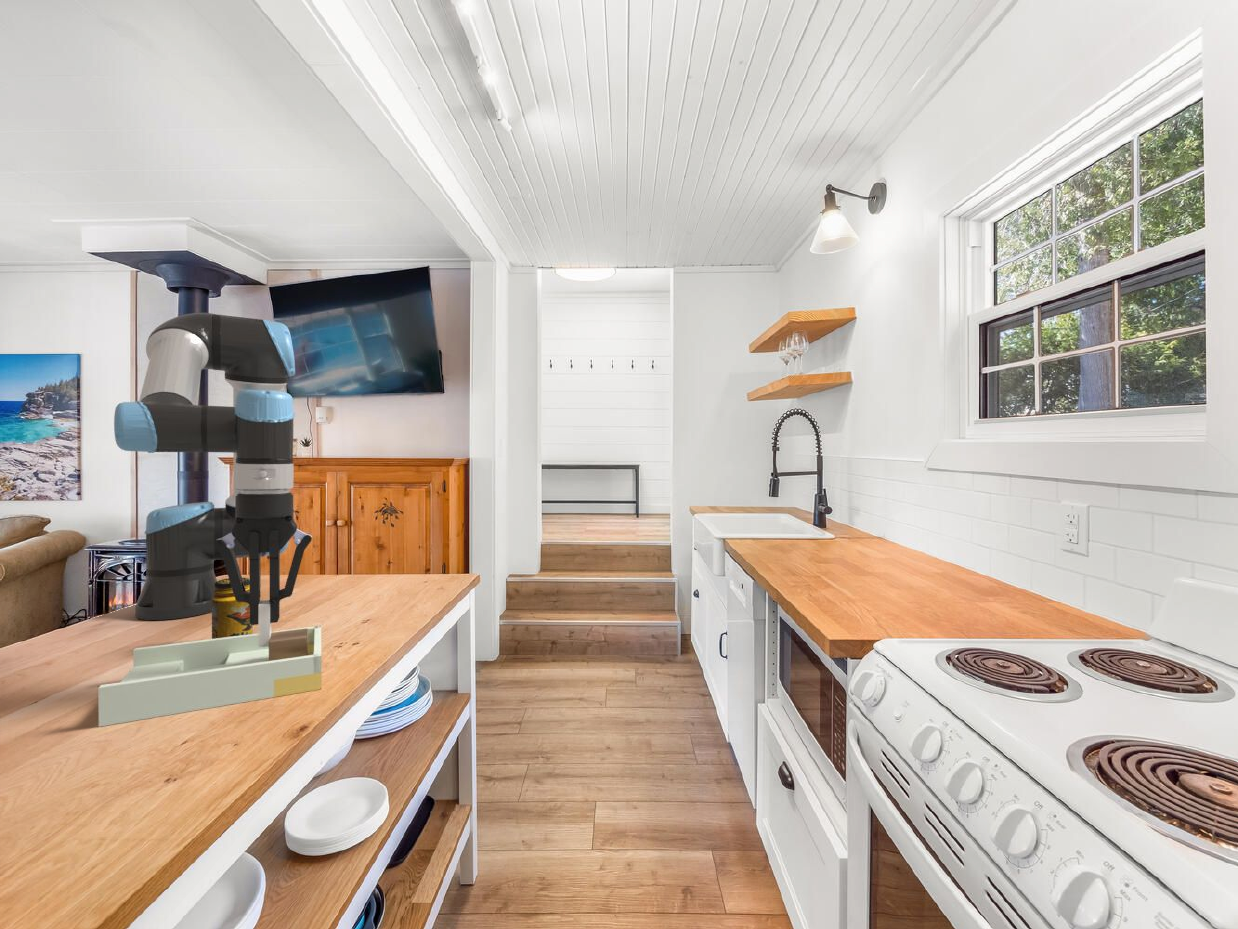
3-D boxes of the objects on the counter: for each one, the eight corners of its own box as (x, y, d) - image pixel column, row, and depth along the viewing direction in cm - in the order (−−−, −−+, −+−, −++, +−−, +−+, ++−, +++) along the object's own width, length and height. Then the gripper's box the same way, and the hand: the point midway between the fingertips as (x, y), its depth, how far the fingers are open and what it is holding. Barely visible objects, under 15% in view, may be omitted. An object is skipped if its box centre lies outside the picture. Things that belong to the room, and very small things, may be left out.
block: (271, 657, 88) (271, 632, 88) (307, 652, 90) (307, 628, 90) (268, 668, 84) (268, 642, 84) (306, 663, 86) (306, 637, 86)
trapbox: (135, 680, 85) (135, 648, 85) (321, 654, 97) (321, 625, 97) (98, 726, 71) (98, 688, 71) (321, 689, 83) (321, 655, 82)
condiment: (254, 648, 99) (254, 581, 99) (195, 657, 95) (195, 587, 94) (254, 636, 105) (254, 574, 105) (198, 645, 101) (198, 579, 101)
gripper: (208, 494, 79) (208, 659, 79) (313, 492, 85) (312, 645, 86) (217, 490, 86) (217, 643, 86) (313, 489, 92) (313, 631, 92)
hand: (264, 644), depth 86 cm, fingers closed
